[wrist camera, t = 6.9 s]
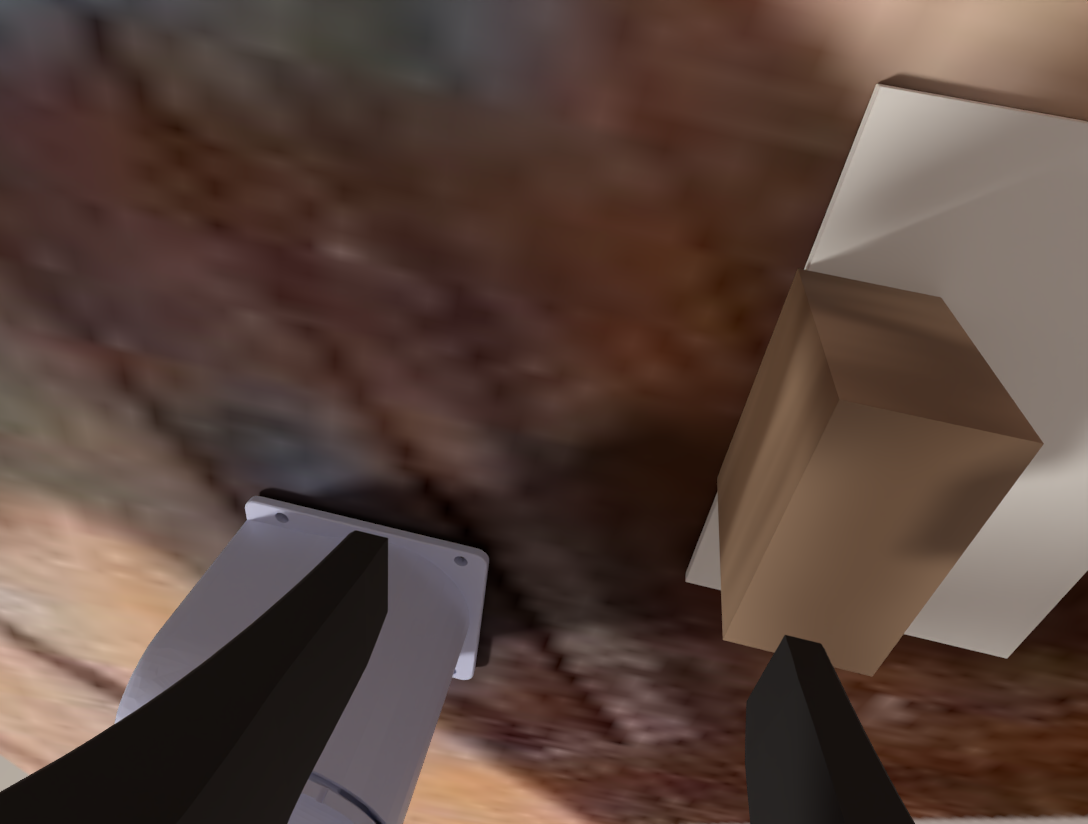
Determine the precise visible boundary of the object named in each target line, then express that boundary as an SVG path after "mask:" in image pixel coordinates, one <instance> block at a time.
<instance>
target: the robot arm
mask: <svg viewBox="0 0 1088 824" xmlns="http://www.w3.org/2000/svg"><path fill="white" fill-rule="evenodd" d="M245 510H246V516H247V521H246V522H245V523H244V524H243V526H242V527H241V528H240V529H239V531H238V532H237V533H236V534H235V536H234V537H233V538H232V539H231V541H230V542H229V543H228V545H227V546H226V547H225V548H224V550H223V551H222V552H221V553H220V555H219V556H218V557H217V558H216V560H215V561H214V562H213V563H212V565H211V566H210V567H209V569H208V570H207V571H206V572H205V574H204V575H203V576H202V577H201V579H200V580H199V581H198V582H197V584H196V585H195V586H194V588H193V589H192V590H191V591H190V593H189V594H188V595H187V596H186V598H185V599H184V600H183V601H182V603H181V604H180V605H179V606H178V608H177V609H176V610H175V612H174V613H173V614H172V615H171V617H170V618H169V619H168V620H167V622H166V623H165V624H164V625H163V627H162V628H161V629H160V630H159V632H158V633H157V634H156V636H155V637H154V639H153V640H152V641H151V643H150V644H149V646H148V647H147V649H146V650H145V652H144V654H143V655H142V657H141V659H140V660H139V662H138V664H137V666H136V668H135V670H134V672H133V674H132V676H131V678H130V680H129V682H128V685H127V687H126V689H125V692H124V694H123V697H122V699H121V702H120V705H119V708H118V711H117V715H116V719H115V724H114V725H112V726H111V727H109V728H108V729H106V730H105V731H103V732H102V733H100V734H99V735H97V736H95V737H94V738H92V739H91V740H89V741H87V742H86V743H84V744H83V745H81V746H79V747H78V748H76V749H74V750H73V751H71V752H69V753H68V754H66V755H64V756H63V757H61V758H59V759H57V760H56V761H54V762H52V763H50V764H49V765H47V766H45V767H43V768H42V769H40V770H38V771H36V772H35V773H33V774H31V775H29V776H28V777H26V778H24V779H22V780H20V781H19V782H17V783H15V784H13V785H12V786H10V787H8V788H7V789H5V790H3V791H1V792H0V824H403V822H404V819H405V816H406V813H407V810H408V807H409V804H410V801H411V798H412V795H413V792H414V789H415V786H416V783H417V780H418V777H419V775H420V772H421V769H422V766H423V763H424V760H425V757H426V754H427V751H428V748H429V745H430V742H431V739H432V736H433V733H434V730H435V727H436V724H437V721H438V718H439V715H440V712H441V709H442V706H443V703H444V700H445V697H446V694H447V692H448V689H449V686H450V683H451V680H452V677H453V678H457V679H461V680H468V679H471V678H472V677H473V675H474V671H475V667H476V659H477V651H478V644H479V636H480V628H481V621H482V613H483V605H484V598H485V590H486V582H487V575H488V567H489V557H488V555H487V554H486V553H485V552H484V551H483V550H480V549H478V548H474V547H470V546H466V545H461V544H457V543H453V542H449V541H445V540H441V539H436V538H432V537H428V536H424V535H420V534H416V533H411V532H407V531H403V530H399V529H395V528H391V527H387V526H382V525H378V524H374V523H370V522H366V521H362V520H357V519H353V518H349V517H345V516H341V515H337V514H332V513H328V512H324V511H320V510H316V509H312V508H307V507H303V506H299V505H295V504H291V503H287V502H283V501H278V500H274V499H270V498H266V497H262V496H253V497H251V499H250V500H249V501H248V502H247V503H246V505H245ZM284 514H285V515H284ZM460 556H461V557H464V558H461V557H460ZM745 767H746V780H747V791H748V802H749V814H750V824H915V823H914V821H913V819H912V818H911V816H910V814H909V812H908V810H907V809H906V807H905V805H904V803H903V802H902V800H901V798H900V796H899V795H898V793H897V791H896V789H895V787H894V785H893V783H892V782H891V780H890V778H889V776H888V774H887V772H886V770H885V769H884V767H883V765H882V763H881V761H880V759H879V757H878V756H877V754H876V752H875V750H874V748H873V746H872V744H871V742H870V740H869V738H868V736H867V735H866V733H865V731H864V729H863V727H862V725H861V723H860V721H859V719H858V717H857V715H856V713H855V711H854V709H853V707H852V705H851V703H850V700H849V698H848V696H847V694H846V692H845V690H844V688H843V686H842V684H841V682H840V680H839V678H838V676H837V674H836V672H835V669H834V667H833V665H832V663H831V661H830V659H829V657H828V655H827V653H826V651H825V649H824V647H823V646H822V644H821V643H817V642H813V641H809V640H805V639H801V638H797V637H793V636H789V635H784V637H783V639H782V641H781V642H780V644H779V646H778V648H777V649H776V651H775V653H774V655H773V656H772V658H771V660H770V662H769V663H768V665H767V667H766V669H765V670H764V672H763V674H762V676H761V677H760V679H759V681H758V683H757V684H756V686H755V688H754V690H753V691H752V693H751V695H750V697H749V698H748V700H747V706H746V737H745Z"/></svg>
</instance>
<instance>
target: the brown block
mask: <svg viewBox="0 0 1088 824" xmlns="http://www.w3.org/2000/svg"><path fill="white" fill-rule="evenodd" d="M1043 444H1044V443H1043V442H1042V440H1041V439H1040V437H1039V436H1038V435H1037V433H1036V432H1035V430H1034V429H1033V427H1032V426H1031V425H1030V423H1029V422H1028V420H1027V419H1026V418H1025V416H1024V415H1023V413H1022V412H1021V410H1020V409H1019V408H1018V406H1017V405H1016V403H1015V402H1014V400H1013V399H1012V398H1011V396H1010V395H1009V393H1008V392H1007V390H1006V389H1005V388H1004V386H1003V385H1002V383H1001V382H1000V380H999V379H998V378H997V376H996V375H995V373H994V372H993V370H992V369H991V368H990V366H989V365H988V363H987V362H986V360H985V359H984V358H983V356H982V355H981V353H980V352H979V350H978V349H977V348H976V346H975V345H974V343H973V342H972V340H971V339H970V338H969V336H968V335H967V333H966V332H965V330H964V329H963V328H962V326H961V325H960V323H959V322H958V321H957V319H956V318H955V316H954V315H953V313H952V312H951V311H950V309H949V308H948V306H947V305H946V303H945V302H944V301H943V299H942V298H941V297H937V296H932V295H927V294H922V293H917V292H912V291H907V290H902V289H897V288H892V287H887V286H882V285H877V284H872V283H868V282H863V281H858V280H853V279H848V278H843V277H838V276H833V275H828V274H823V273H818V272H813V271H808V270H804V269H799V268H798V270H797V272H796V275H795V277H794V280H793V283H792V285H791V288H790V290H789V293H788V295H787V298H786V301H785V303H784V306H783V308H782V311H781V314H780V316H779V319H778V321H777V324H776V327H775V329H774V332H773V334H772V337H771V340H770V342H769V345H768V347H767V350H766V352H765V355H764V358H763V360H762V363H761V365H760V368H759V371H758V373H757V376H756V378H755V381H754V384H753V386H752V389H751V391H750V394H749V397H748V399H747V402H746V404H745V407H744V410H743V412H742V415H741V417H740V420H739V422H738V425H737V428H736V430H735V433H734V435H733V438H732V441H731V443H730V446H729V448H728V451H727V454H726V456H725V459H724V461H723V464H722V467H721V469H720V472H719V474H718V477H717V492H718V520H719V547H720V575H721V602H722V630H723V640H725V641H729V642H733V643H737V644H742V645H746V646H750V647H754V648H758V649H762V650H766V651H770V652H774V653H775V651H776V649H777V648H778V646H779V644H780V642H781V641H782V639H783V637H784V635H789V636H793V637H797V638H801V639H805V640H809V641H813V642H817V643H821V644H822V646H823V647H824V649H825V651H826V653H827V655H828V657H829V659H830V661H831V663H832V665H833V667H835V668H839V669H844V670H848V671H852V672H856V673H860V674H864V675H868V676H873V675H874V673H875V672H876V671H877V669H878V668H879V667H880V665H881V664H882V663H883V661H884V660H885V658H886V657H887V656H888V654H889V653H890V652H891V650H892V649H893V648H894V646H895V645H896V644H897V642H898V641H899V640H900V638H901V637H902V635H903V634H904V633H905V631H906V630H907V629H908V627H909V626H910V625H911V623H912V622H913V621H914V619H915V618H916V616H917V615H918V614H919V612H920V611H921V610H922V608H923V607H924V606H925V604H926V603H927V602H928V600H929V599H930V598H931V596H932V595H933V593H934V592H935V591H936V589H937V588H938V587H939V585H940V584H941V583H942V581H943V580H944V579H945V577H946V576H947V575H948V573H949V572H950V570H951V569H952V568H953V566H954V565H955V564H956V562H957V561H958V560H959V558H960V557H961V556H962V554H963V553H964V551H965V550H966V549H967V547H968V546H969V545H970V543H971V542H972V541H973V539H974V538H975V537H976V535H977V534H978V533H979V531H980V530H981V528H982V527H983V526H984V524H985V523H986V522H987V520H988V519H989V518H990V516H991V515H992V514H993V512H994V511H995V509H996V508H997V507H998V505H999V504H1000V503H1001V501H1002V500H1003V499H1004V497H1005V496H1006V495H1007V493H1008V492H1009V491H1010V489H1011V488H1012V486H1013V485H1014V484H1015V482H1016V481H1017V480H1018V478H1019V477H1020V476H1021V474H1022V473H1023V472H1024V470H1025V469H1026V467H1027V466H1028V465H1029V463H1030V462H1031V461H1032V459H1033V458H1034V457H1035V455H1036V454H1037V453H1038V451H1039V450H1040V449H1041V447H1042V446H1043Z"/></svg>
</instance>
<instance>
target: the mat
mask: <svg viewBox="0 0 1088 824" xmlns="http://www.w3.org/2000/svg"><path fill="white" fill-rule="evenodd" d="M804 270H808V271H813V272H818V273H823V274H828V275H833V276H838V277H843V278H848V279H853V280H858V281H863V282H868V283H872V284H877V285H882V286H887V287H892V288H897V289H902V290H907V291H912V292H917V293H922V294H927V295H932V296H937V297H941V298H942V299H943V301H944V302H945V303H946V305H947V306H948V308H949V309H950V311H951V312H952V313H953V315H954V316H955V318H956V319H957V321H958V322H959V323H960V325H961V326H962V328H963V329H964V330H965V332H966V333H967V335H968V336H969V338H970V339H971V340H972V342H973V343H974V345H975V346H976V348H977V349H978V350H979V352H980V353H981V355H982V356H983V358H984V359H985V360H986V362H987V363H988V365H989V366H990V368H991V369H992V370H993V372H994V373H995V375H996V376H997V378H998V379H999V380H1000V382H1001V383H1002V385H1003V386H1004V388H1005V389H1006V390H1007V392H1008V393H1009V395H1010V396H1011V398H1012V399H1013V400H1014V402H1015V403H1016V405H1017V406H1018V408H1019V409H1020V410H1021V412H1022V413H1023V415H1024V416H1025V418H1026V419H1027V420H1028V422H1029V423H1030V425H1031V426H1032V427H1033V429H1034V430H1035V432H1036V433H1037V435H1038V436H1039V437H1040V439H1041V440H1042V442H1043V443H1044V444H1043V446H1042V447H1041V449H1040V450H1039V451H1038V453H1037V454H1036V455H1035V457H1034V458H1033V459H1032V461H1031V462H1030V463H1029V465H1028V466H1027V467H1026V469H1025V470H1024V472H1023V473H1022V474H1021V476H1020V477H1019V478H1018V480H1017V481H1016V482H1015V484H1014V485H1013V486H1012V488H1011V489H1010V491H1009V492H1008V493H1007V495H1006V496H1005V497H1004V499H1003V500H1002V501H1001V503H1000V504H999V505H998V507H997V508H996V509H995V511H994V512H993V514H992V515H991V516H990V518H989V519H988V520H987V522H986V523H985V524H984V526H983V527H982V528H981V530H980V531H979V533H978V534H977V535H976V537H975V538H974V539H973V541H972V542H971V543H970V545H969V546H968V547H967V549H966V550H965V551H964V553H963V554H962V556H961V557H960V558H959V560H958V561H957V562H956V564H955V565H954V566H953V568H952V569H951V570H950V572H949V573H948V575H947V576H946V577H945V579H944V580H943V581H942V583H941V584H940V585H939V587H938V588H937V589H936V591H935V592H934V593H933V595H932V596H931V598H930V599H929V600H928V602H927V603H926V604H925V606H924V607H923V608H922V610H921V611H920V612H919V614H918V615H917V616H916V618H915V619H914V621H913V622H912V623H911V625H910V626H909V627H908V629H907V630H906V631H905V633H904V634H906V635H910V636H915V637H919V638H923V639H927V640H931V641H936V642H940V643H944V644H948V645H952V646H957V647H961V648H965V649H969V650H973V651H977V652H982V653H986V654H990V655H994V656H998V657H1003V658H1008V657H1009V656H1010V655H1011V654H1012V653H1013V651H1014V650H1015V649H1016V648H1017V647H1018V646H1019V645H1020V644H1021V643H1022V642H1023V641H1024V639H1025V638H1026V637H1027V636H1028V635H1029V634H1030V633H1031V632H1032V631H1033V630H1034V629H1035V627H1036V626H1037V625H1038V624H1039V623H1040V622H1041V621H1042V620H1043V619H1044V618H1045V616H1046V615H1047V614H1048V613H1049V612H1050V611H1051V610H1052V609H1053V608H1054V607H1055V606H1056V604H1057V603H1058V602H1059V601H1060V600H1061V599H1062V598H1063V597H1064V596H1065V595H1066V594H1067V592H1068V591H1069V590H1070V589H1071V588H1072V587H1073V586H1074V585H1075V584H1076V583H1077V582H1078V580H1079V579H1080V578H1081V577H1082V576H1083V575H1084V574H1085V573H1086V572H1087V571H1088V121H1083V120H1077V119H1072V118H1066V117H1061V116H1055V115H1050V114H1044V113H1039V112H1033V111H1027V110H1022V109H1016V108H1011V107H1005V106H1000V105H994V104H988V103H983V102H977V101H972V100H966V99H961V98H955V97H949V96H944V95H938V94H933V93H927V92H922V91H916V90H911V89H905V88H899V87H894V86H888V85H883V84H876V86H875V89H874V91H873V94H872V96H871V99H870V102H869V104H868V107H867V109H866V112H865V114H864V117H863V120H862V122H861V125H860V127H859V130H858V132H857V135H856V137H855V140H854V143H853V145H852V148H851V150H850V153H849V155H848V158H847V161H846V163H845V166H844V168H843V171H842V173H841V176H840V178H839V181H838V184H837V186H836V189H835V191H834V194H833V196H832V199H831V202H830V204H829V207H828V209H827V212H826V214H825V217H824V220H823V222H822V225H821V227H820V230H819V232H818V235H817V237H816V240H815V243H814V245H813V248H812V250H811V253H810V255H809V258H808V261H807V263H806V266H805V268H804ZM685 582H688V583H692V584H697V585H701V586H705V587H709V588H713V589H718V590H721V575H720V547H719V520H718V492H717V494H716V496H715V499H714V502H713V504H712V507H711V509H710V512H709V514H708V517H707V519H706V522H705V525H704V527H703V530H702V532H701V535H700V537H699V540H698V543H697V545H696V548H695V550H694V553H693V555H692V558H691V560H690V563H689V566H688V568H687V571H686V575H685Z"/></svg>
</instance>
